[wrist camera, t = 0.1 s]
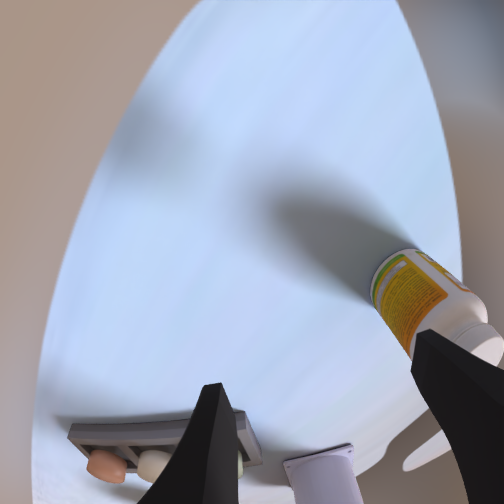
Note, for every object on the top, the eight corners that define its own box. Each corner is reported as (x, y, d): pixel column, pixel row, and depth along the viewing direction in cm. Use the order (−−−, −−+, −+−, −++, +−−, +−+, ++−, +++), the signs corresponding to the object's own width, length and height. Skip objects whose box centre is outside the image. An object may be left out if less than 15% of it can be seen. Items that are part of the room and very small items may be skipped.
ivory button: (186, 468, 25) (185, 484, 23) (150, 469, 25) (148, 484, 23) (170, 449, 24) (169, 467, 22) (132, 450, 24) (129, 467, 22)
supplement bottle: (366, 319, 22) (425, 418, 13) (369, 253, 20) (451, 344, 11) (426, 304, 22) (495, 385, 13) (434, 241, 20) (525, 312, 11)
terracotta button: (134, 469, 25) (131, 484, 23) (103, 467, 25) (100, 482, 23) (115, 450, 24) (111, 466, 22) (83, 448, 24) (79, 463, 22)
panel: (260, 448, 28) (262, 464, 26) (104, 458, 28) (101, 471, 26) (244, 411, 25) (246, 429, 23) (72, 423, 25) (67, 437, 23)
